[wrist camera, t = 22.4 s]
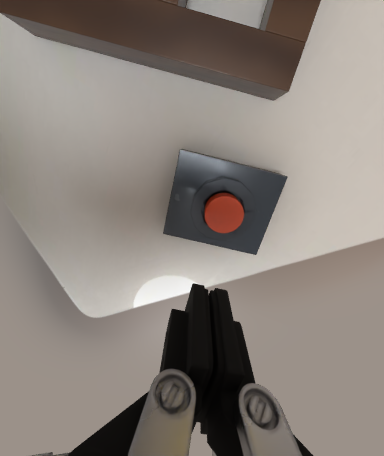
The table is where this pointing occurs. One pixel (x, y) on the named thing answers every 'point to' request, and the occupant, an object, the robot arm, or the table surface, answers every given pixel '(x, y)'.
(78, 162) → the table surface
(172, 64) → the dock
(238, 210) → the button
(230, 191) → the dark grey flat piece
